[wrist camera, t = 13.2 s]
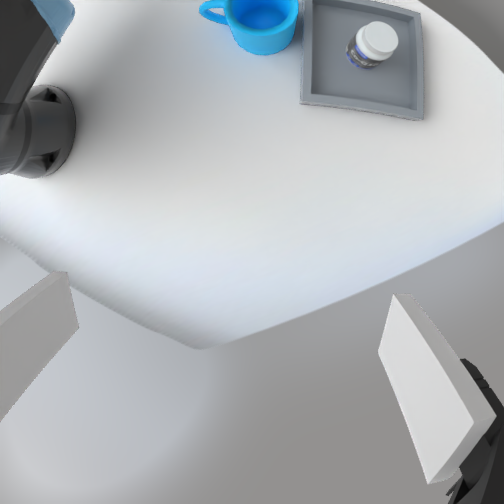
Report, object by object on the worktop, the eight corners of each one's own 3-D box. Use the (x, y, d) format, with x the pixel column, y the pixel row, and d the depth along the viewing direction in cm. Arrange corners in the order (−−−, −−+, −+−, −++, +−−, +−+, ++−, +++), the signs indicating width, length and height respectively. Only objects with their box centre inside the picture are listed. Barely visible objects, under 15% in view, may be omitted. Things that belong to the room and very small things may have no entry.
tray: (300, 104, 37) (302, 100, 35) (302, -1, 32) (304, -10, 29) (413, 120, 37) (423, 119, 34) (412, 19, 31) (420, 13, 28)
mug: (299, 11, 33) (305, -15, 25) (287, 61, 36) (290, 43, 28) (213, -3, 33) (201, -29, 25) (198, 45, 35) (182, 26, 28)
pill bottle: (340, 60, 34) (355, 42, 26) (351, 33, 33) (367, 11, 25) (373, 76, 35) (395, 62, 27) (383, 48, 33) (406, 30, 25)
